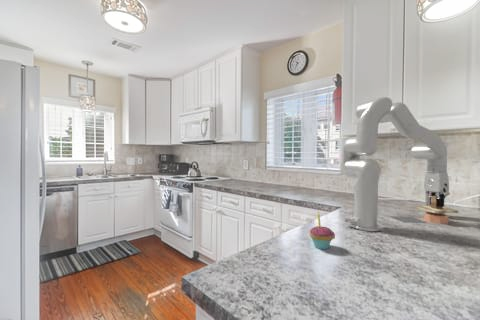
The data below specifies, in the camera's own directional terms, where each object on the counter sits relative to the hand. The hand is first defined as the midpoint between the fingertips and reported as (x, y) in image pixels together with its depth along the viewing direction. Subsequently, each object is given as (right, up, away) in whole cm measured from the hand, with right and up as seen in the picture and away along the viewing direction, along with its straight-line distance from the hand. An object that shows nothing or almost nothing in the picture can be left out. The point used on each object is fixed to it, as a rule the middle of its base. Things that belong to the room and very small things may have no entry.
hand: (436, 205), depth 114 cm
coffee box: (+10, -9, +13) cm, 19 cm away
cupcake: (-70, -8, -33) cm, 78 cm away
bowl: (0, -8, 0) cm, 8 cm away
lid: (0, -3, 0) cm, 3 cm away
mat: (-12, -8, +3) cm, 15 cm away
